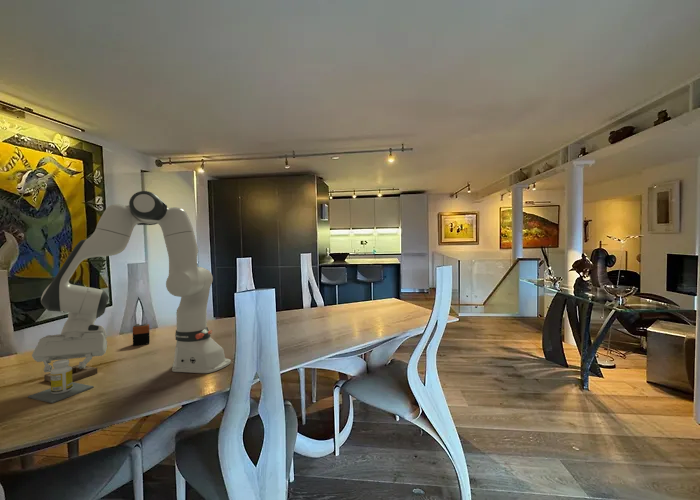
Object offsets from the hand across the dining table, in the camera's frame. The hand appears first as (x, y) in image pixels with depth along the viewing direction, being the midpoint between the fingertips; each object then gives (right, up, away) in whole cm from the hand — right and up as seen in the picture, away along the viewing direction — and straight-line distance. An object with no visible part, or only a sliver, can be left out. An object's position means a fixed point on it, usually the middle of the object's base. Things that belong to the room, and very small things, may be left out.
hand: (64, 369), depth 112 cm
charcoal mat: (0, -7, -2) cm, 7 cm away
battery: (-7, -7, +53) cm, 54 cm away
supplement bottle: (0, -7, -2) cm, 7 cm away
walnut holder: (-8, -7, +12) cm, 16 cm away
